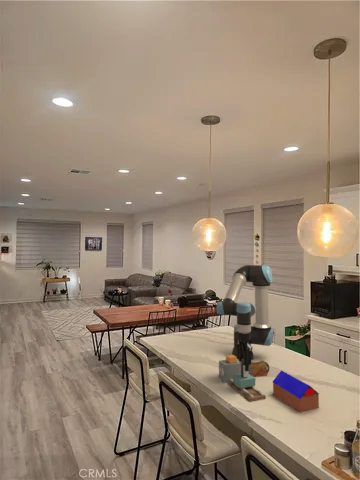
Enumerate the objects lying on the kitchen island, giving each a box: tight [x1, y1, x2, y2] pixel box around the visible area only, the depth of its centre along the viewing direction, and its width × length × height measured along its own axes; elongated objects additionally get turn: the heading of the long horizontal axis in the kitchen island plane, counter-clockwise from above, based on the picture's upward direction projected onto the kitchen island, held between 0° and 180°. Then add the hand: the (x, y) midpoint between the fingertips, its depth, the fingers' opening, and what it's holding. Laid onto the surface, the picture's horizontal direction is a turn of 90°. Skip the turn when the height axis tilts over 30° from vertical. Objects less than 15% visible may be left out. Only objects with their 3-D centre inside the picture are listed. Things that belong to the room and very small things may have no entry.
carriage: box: [233, 359, 256, 388], centre depth 170 cm, size 8×9×13 cm
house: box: [272, 370, 320, 413], centre depth 157 cm, size 12×20×12 cm, turn 22°
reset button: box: [225, 354, 237, 363], centre depth 183 cm, size 4×4×3 cm
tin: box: [248, 360, 270, 378], centre depth 188 cm, size 15×3×8 cm, turn 105°
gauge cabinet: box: [218, 359, 240, 384], centre depth 183 cm, size 12×8×10 cm, turn 110°
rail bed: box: [228, 379, 267, 403], centre depth 168 cm, size 22×9×2 cm, turn 20°
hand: (244, 375), depth 170 cm, fingers closed on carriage, 3 cm apart
